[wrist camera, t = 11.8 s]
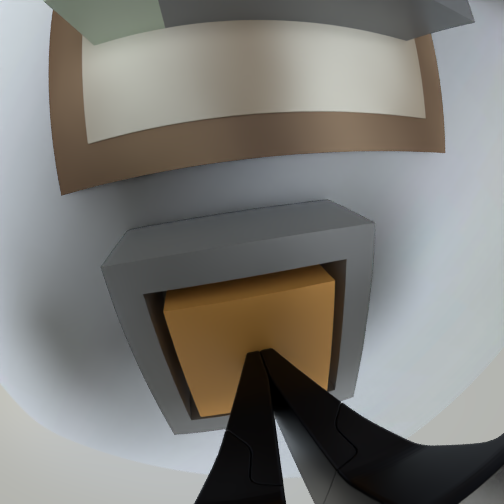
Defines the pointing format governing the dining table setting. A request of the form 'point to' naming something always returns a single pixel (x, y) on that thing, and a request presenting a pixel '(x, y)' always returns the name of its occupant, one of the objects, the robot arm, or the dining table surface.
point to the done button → (250, 329)
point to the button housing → (235, 267)
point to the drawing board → (234, 96)
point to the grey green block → (261, 15)
